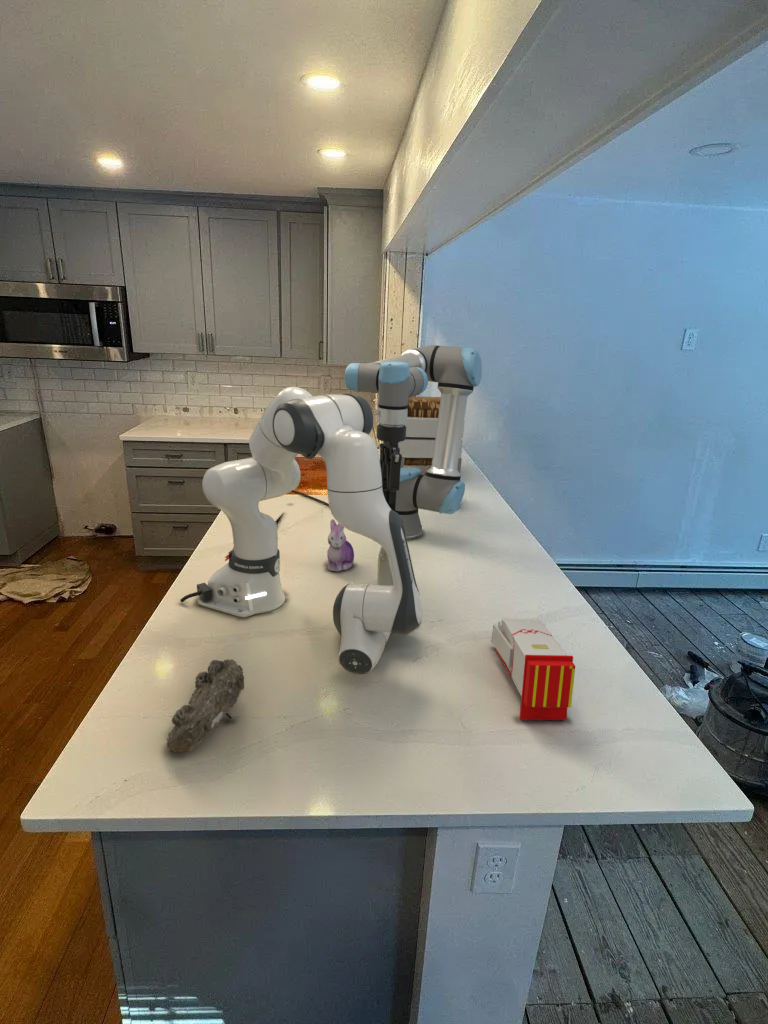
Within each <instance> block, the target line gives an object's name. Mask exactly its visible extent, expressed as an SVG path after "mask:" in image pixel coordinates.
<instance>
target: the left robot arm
mask: <svg viewBox="0 0 768 1024" xmlns="http://www.w3.org/2000/svg"><path fill="white" fill-rule="evenodd" d="M373 426H374V413H373V410H372V408H371V405H370V404H369V402H368V401H367V400H366V399H365V398H364V397H362V396H360V395H357V394H353V393H343V394H342V393H341V394H338V393H337V394H335V393H332V394H331V393H327V394H326V393H325V394H319V395H312V393H311V392H309V391H308V390H306V389H304V388H302V387H299V386H288V387H285V388H283V389H282V390H281V391H280V392H278V393H277V394H276V395H275V397H274V398H273V399H272V400H271V401H270V403H269V404H268V406H267V407H266V408H265V410H264V412H262V415H261V417H259V420H258V422H257V423H256V426H255V428H254V429H253V432H252V433H251V435H250V437H249V442H248V446H249V451H250V454H251V457H246V458H242V459H235V460H229V461H225V462H221V463H220V464H217V465H215V466H212V467H210V468H208V469H207V470H206V471H205V473H204V475H203V477H202V483H201V484H202V485H201V488H202V492H203V495H204V497H205V499H206V500H207V501H208V503H210V504H211V505H212V506H213V507H215V508H217V509H218V510H220V511H222V512H223V513H224V515H225V516H226V517H227V519H228V521H229V523H230V526H231V532H232V541H233V547H232V549H231V550H230V551H228V554H227V555H225V556H224V559H225V560H224V561H225V562H227V561H228V562H227V563H225V564H224V565H223V566H221V567H220V568H218V569H217V570H216V571H215V572H213V574H211V576H210V577H209V578H208V581H207V583H206V582H201V583H198V584H196V591H195V592H192V593H189V594H186V595H184V596H183V597H182V598H180V599H179V601H180V602H181V603H184V602H185V601H186V600H188V599H190V598H194V597H198V598H197V599H198V600H197V602H198V603H197V604H198V605H200V606H202V607H205V608H209V609H211V610H212V609H213V610H215V611H219V612H222V613H226V614H230V615H233V616H236V617H240V618H248V617H250V616H253V615H257V614H262V613H268V612H271V611H274V610H276V609H279V608H280V607H281V606H282V605H284V603H285V601H286V596H285V593H284V590H283V586H282V581H281V576H280V575H281V574H280V571H281V554H280V549H279V541H278V540H279V537H278V524H276V522H275V521H276V520H275V519H274V518H273V517H272V516H270V515H269V514H266V513H264V512H261V511H260V507H259V506H260V505H259V503H260V502H262V501H267V500H271V499H275V498H279V497H283V496H285V495H287V494H288V493H292V492H291V491H293V490H294V491H295V490H296V489H297V488H298V487H299V485H300V483H301V478H302V477H301V476H302V473H301V467H300V466H299V463H298V462H297V460H296V458H297V456H298V455H301V456H302V457H304V458H305V459H308V460H312V459H314V458H315V457H316V456H317V455H318V456H319V457H320V458H321V459H322V460H323V462H324V464H325V469H326V487H327V488H326V489H327V500H328V504H329V506H328V507H329V511H330V514H331V516H332V517H333V519H334V520H335V522H337V523H338V524H339V523H340V524H341V525H342V526H343V527H344V529H347V530H348V531H350V532H352V533H355V534H357V535H361V536H363V537H365V538H367V539H370V540H372V541H373V542H374V543H377V544H378V545H379V546H380V547H381V546H382V547H383V548H384V550H385V551H386V553H387V556H388V560H389V565H390V569H391V573H392V578H393V582H394V586H386V585H377V584H369V583H347V584H346V585H345V586H343V587H342V588H341V590H340V591H339V592H338V593H337V595H336V597H335V599H334V603H333V606H332V619H333V625H334V627H335V629H336V631H337V633H338V635H339V636H340V637H341V640H340V646H339V649H338V662H339V664H340V666H341V667H342V668H343V669H344V670H345V671H347V672H348V673H351V674H356V675H365V674H368V673H370V672H371V671H372V670H374V668H375V667H376V666H377V664H378V663H379V661H380V660H381V658H382V655H383V653H384V651H385V647H386V644H387V642H388V641H389V638H390V636H391V634H395V635H401V636H408V635H410V634H411V633H413V632H414V631H416V630H419V629H420V628H421V627H420V626H421V624H422V620H423V616H424V606H423V605H424V604H423V601H422V598H421V594H420V591H419V588H418V584H417V581H416V577H415V571H414V567H413V562H412V558H411V553H410V548H409V544H408V540H407V539H406V535H405V531H404V527H403V524H402V521H401V518H400V516H399V514H398V513H397V512H395V511H393V510H391V508H390V507H389V505H388V504H387V502H386V500H385V497H384V494H383V489H382V474H381V466H380V454H379V451H378V447H377V443H376V441H375V439H374V438H373V437H372V436H371V435H370V434H371V432H372V429H373Z"/></svg>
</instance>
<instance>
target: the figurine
mask: <svg viewBox="0 0 768 1024" xmlns="http://www.w3.org/2000/svg"><path fill="white" fill-rule="evenodd" d="M329 524H330V525H329V526H330V532H329V534H328V536H327V543H328V545H329V547H328V548H327V552H326V553H327V555H326V556H327V562H326V565H327V570H328V571H332V572H341V571H346V570H348V569H350V568H352V567H353V566H354V560H355V551H354V548H353V545H352V544H351V542H349V541H348V540H347V535H346V534H345V532H344V529H345V527H343V526H342V525H341V524H340V523H338V524H337V523H336V520H335V518H332V519H330V523H329Z"/></svg>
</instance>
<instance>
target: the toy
mask: <svg viewBox="0 0 768 1024" xmlns="http://www.w3.org/2000/svg"><path fill="white" fill-rule="evenodd" d="M490 638H491V639H490V642H491V644H492V646H493V647H494V650H495V652H496V654H497V655H498V657H499V659H500V660H501V662H502V664H503V666H504V667H505V669H506V671H507V672H508V674H509V676H510V677H511V679H512V681H513V683H514V685H515V688H516V690H517V691H518V693H519V695H520V697H521V698H520V710H519V719H520V720H534V721H535V720H539V721H567V716H568V708H572V701H573V692H574V684H575V674H576V673H575V672H576V665H575V663H574V656H573V655H568V654H567V653H566V652H565V650H564V649H563V648H562V646H561V645H560V644H559V643H558V641H557V640H556V639H555V637H554V636H553V634H552V633H551V632H550V631H549V629H548V628H547V626H546V624H545V623H543V621H542V620H541V619H540V618H505V617H503V618H501V620H498V622H497V624H495V623H493V624H492V632H491V637H490Z"/></svg>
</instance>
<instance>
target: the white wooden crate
mask: <svg viewBox="0 0 768 1024" xmlns="http://www.w3.org/2000/svg"><path fill="white" fill-rule="evenodd" d="M440 400H441V396H419V395H417V396H414V397H409V398H408V406H407V408H408V411H407V423H406V424H405V426H406V439H405V440H404V441H402V442H401V441H400V442H399V443H398V448H400V454H402V460H401V468H404V467H405V466H406V467H417V466H418V467H431V466H432V459H433V452H434V445H435V437H436V430H437V422H438V415H439V408H440ZM464 422H465V419H464ZM464 429H465V424H464V425H463V432H462V439H463V438H464V431H465V430H464ZM462 439H461V446H460V453H459V460H458V467H457V470H458V472H459V473H460V474H461V472H462V461H463V460H462V453H463V442H464V441H463V440H462ZM461 475H462V474H461Z"/></svg>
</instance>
